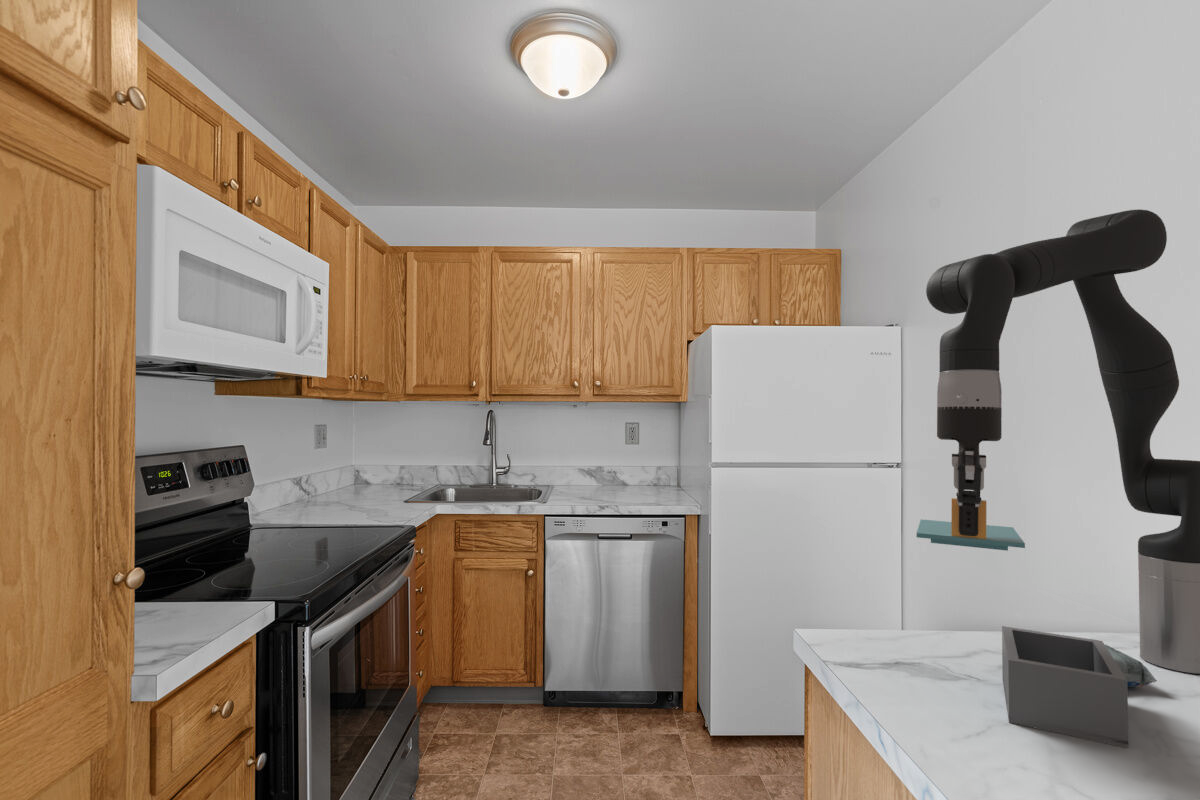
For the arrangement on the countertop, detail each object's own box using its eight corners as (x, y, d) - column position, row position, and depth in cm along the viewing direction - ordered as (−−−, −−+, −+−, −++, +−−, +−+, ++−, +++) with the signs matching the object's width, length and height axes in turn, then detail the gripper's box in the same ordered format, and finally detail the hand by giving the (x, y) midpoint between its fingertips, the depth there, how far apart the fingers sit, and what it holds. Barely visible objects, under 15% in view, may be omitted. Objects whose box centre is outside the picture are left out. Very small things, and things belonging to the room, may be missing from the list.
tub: (1002, 679, 95) (1002, 626, 95) (1103, 697, 89) (1102, 640, 89) (1008, 722, 81) (1008, 659, 81) (1128, 747, 75) (1127, 680, 75)
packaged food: (1095, 694, 90) (1095, 659, 90) (1043, 662, 102) (1043, 632, 102) (1159, 697, 90) (1159, 662, 90) (1099, 665, 101) (1099, 634, 102)
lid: (920, 528, 100) (920, 488, 101) (1012, 536, 94) (1012, 494, 94) (916, 543, 86) (916, 496, 86) (1024, 554, 80) (1024, 504, 80)
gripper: (1005, 403, 77) (1005, 545, 76) (997, 407, 89) (997, 530, 88) (936, 402, 80) (935, 538, 80) (937, 407, 92) (937, 525, 91)
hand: (968, 534), depth 84 cm, fingers closed on lid, 1 cm apart
